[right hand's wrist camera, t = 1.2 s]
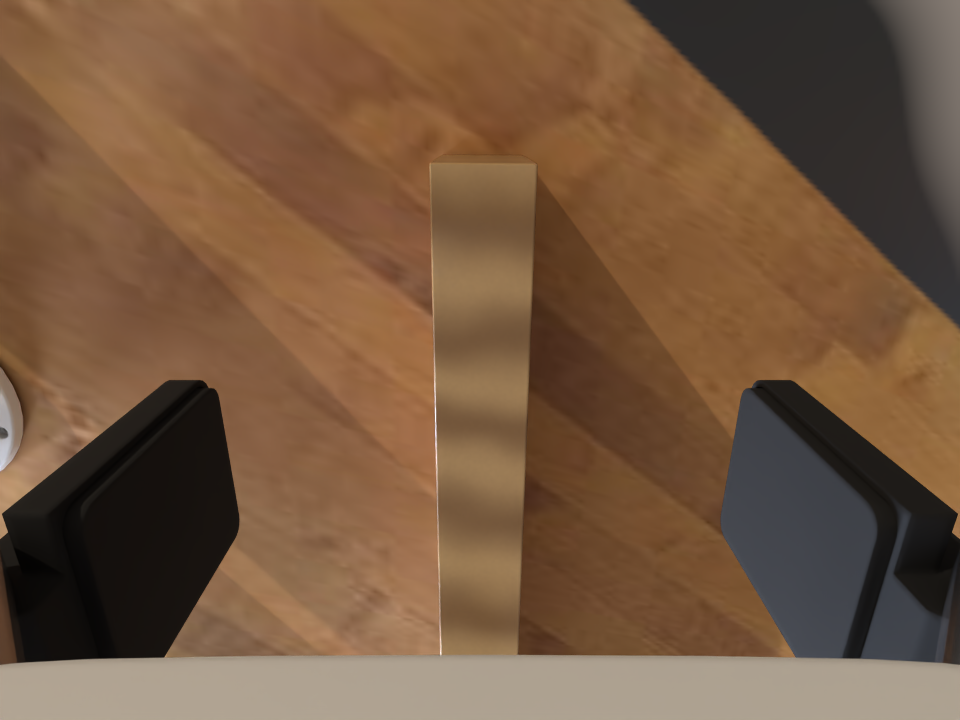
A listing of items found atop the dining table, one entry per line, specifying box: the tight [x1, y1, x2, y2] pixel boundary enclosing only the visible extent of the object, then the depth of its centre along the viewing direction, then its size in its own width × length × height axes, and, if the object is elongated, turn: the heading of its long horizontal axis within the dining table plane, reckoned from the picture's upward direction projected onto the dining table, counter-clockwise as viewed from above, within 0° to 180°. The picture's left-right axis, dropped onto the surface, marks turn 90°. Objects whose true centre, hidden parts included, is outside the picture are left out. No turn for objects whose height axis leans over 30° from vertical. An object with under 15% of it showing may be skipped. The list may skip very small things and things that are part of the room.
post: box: [429, 155, 538, 655], centre depth 41 cm, size 60×5×9 cm, turn 0°
